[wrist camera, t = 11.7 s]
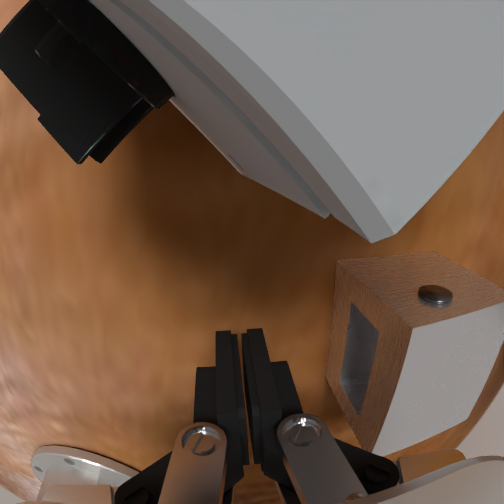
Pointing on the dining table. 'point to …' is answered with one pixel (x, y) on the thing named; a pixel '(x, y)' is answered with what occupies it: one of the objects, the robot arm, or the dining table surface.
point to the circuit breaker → (277, 89)
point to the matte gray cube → (410, 345)
